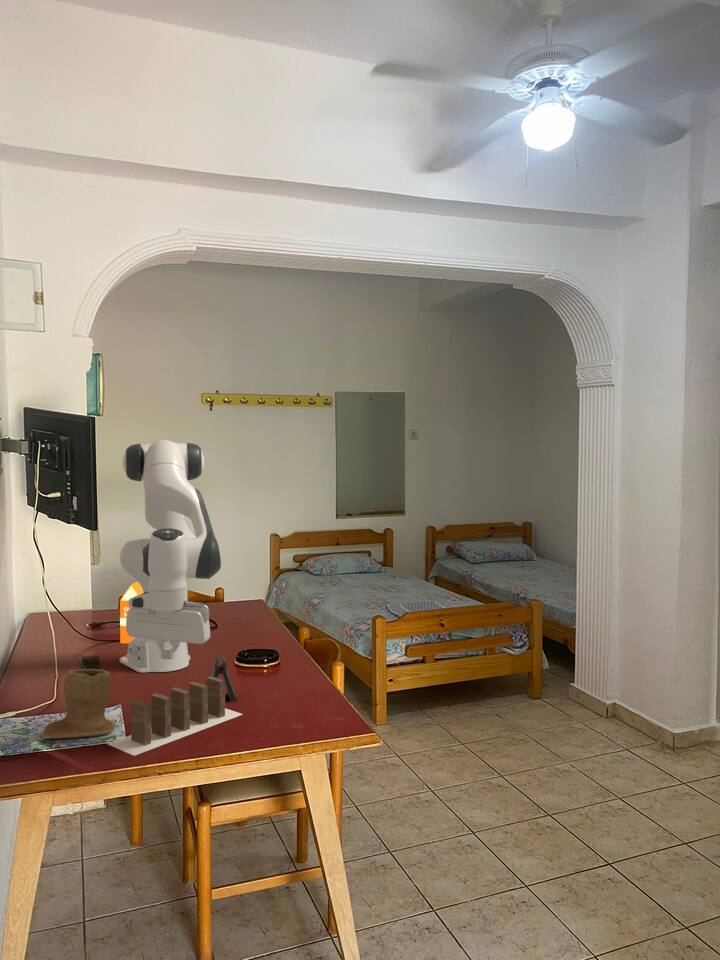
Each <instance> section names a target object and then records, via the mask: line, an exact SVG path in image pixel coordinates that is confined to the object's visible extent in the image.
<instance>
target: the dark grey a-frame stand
mask: <svg viewBox="0 0 720 960" xmlns="http://www.w3.org/2000/svg"><path fill="white" fill-rule="evenodd" d="M220 659H221V662H222V663H221V664H218V663H219V662H220V660H219V655H218V654H216V655H215V656H214V657H213V666H212V669H211V673H210V676H213V677H216V678H219V675H223V680H225V688H226V691H227V694H228V698H229V701H230V703H231V702H233V703H234V702H237V701H238V700H237V696H236V693H235V690H234V688H233V687H234V686H233V685H232V682H231V679H230V676H229V674H228V671H227V662H226V659H225V656H224V655H223V654H220ZM210 676H209V677H210Z"/></svg>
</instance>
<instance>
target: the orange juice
mask: <svg viewBox="0 0 720 960" xmlns="http://www.w3.org/2000/svg"><path fill="white" fill-rule="evenodd" d="M142 593H143V590H142V588H141V586H140V584H139V583H138V582H137V581H135V582H134V583H132V584H130V586H129V587H128V589H127V590H126V591H125V593H124V594H123V596H122V597H121V599H120V600H119V605H120V606H119V607H120V608H119V610H120V611H119V612H120V614H119V621H120V622H119V625H120V629H119V630H120V631H119V632H120V633H119V635H120V639H119V640H120V644H129V643H130V641H131V640H133V639H134V638H135V637H129V636H128V634H127V632H126V618H127V612H128V610H129V609H130V608H131V607H129V605H128V601H129V599H130V598H132V597H134V596H137V595H139V594H142Z"/></svg>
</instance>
